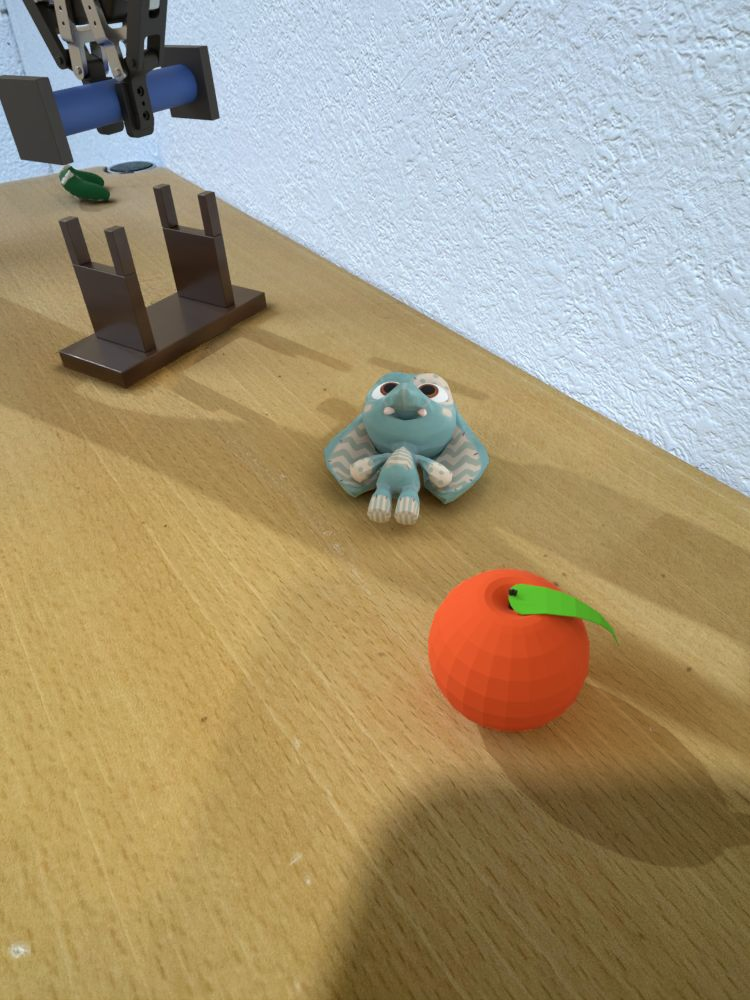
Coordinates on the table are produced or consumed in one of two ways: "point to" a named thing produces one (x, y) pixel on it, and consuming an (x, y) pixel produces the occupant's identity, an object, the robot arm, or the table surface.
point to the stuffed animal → (406, 447)
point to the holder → (167, 323)
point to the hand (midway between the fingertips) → (126, 133)
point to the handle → (102, 103)
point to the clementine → (511, 649)
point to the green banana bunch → (83, 184)
